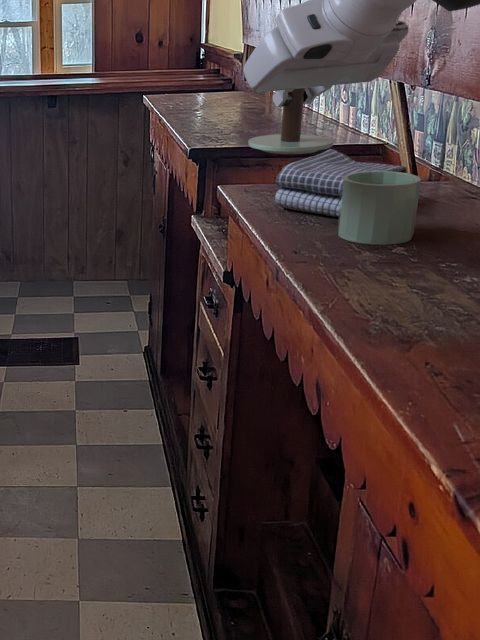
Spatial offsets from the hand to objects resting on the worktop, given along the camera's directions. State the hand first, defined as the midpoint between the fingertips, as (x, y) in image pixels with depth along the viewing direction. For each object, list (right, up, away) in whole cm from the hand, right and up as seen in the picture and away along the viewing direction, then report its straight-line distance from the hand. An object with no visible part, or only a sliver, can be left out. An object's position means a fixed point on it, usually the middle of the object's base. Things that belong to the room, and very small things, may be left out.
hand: (290, 101), depth 118 cm
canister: (+16, -17, +10) cm, 25 cm away
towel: (+17, -10, +27) cm, 33 cm away
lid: (0, -5, +2) cm, 6 cm away
